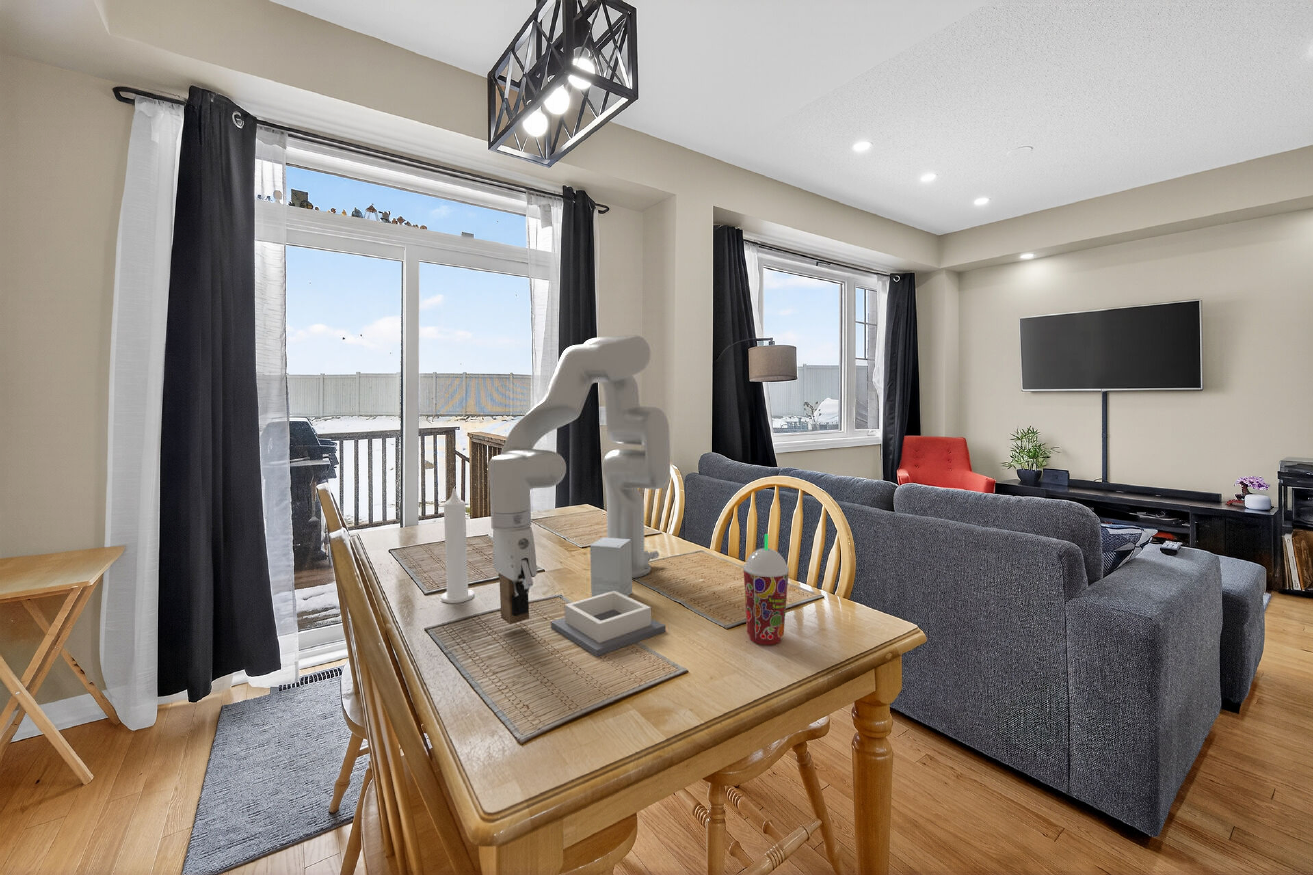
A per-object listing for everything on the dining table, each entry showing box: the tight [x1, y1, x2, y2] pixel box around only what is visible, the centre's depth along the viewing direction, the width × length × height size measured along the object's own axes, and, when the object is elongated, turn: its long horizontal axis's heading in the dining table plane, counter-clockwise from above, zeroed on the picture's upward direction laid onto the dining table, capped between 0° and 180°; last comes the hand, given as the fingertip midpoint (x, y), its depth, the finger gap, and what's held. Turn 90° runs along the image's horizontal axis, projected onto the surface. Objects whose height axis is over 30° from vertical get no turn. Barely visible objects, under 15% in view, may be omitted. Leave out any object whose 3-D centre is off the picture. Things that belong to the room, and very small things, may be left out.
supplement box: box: [589, 536, 633, 597], centre depth 127 cm, size 7×7×13 cm
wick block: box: [498, 573, 530, 625], centre depth 110 cm, size 4×4×9 cm
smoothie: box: [742, 533, 790, 646], centre depth 105 cm, size 8×8×20 cm
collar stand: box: [550, 591, 666, 657], centre depth 110 cm, size 16×16×5 cm
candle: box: [440, 488, 475, 604], centre depth 126 cm, size 7×7×25 cm
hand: (514, 609), depth 111 cm, fingers closed on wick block, 4 cm apart
